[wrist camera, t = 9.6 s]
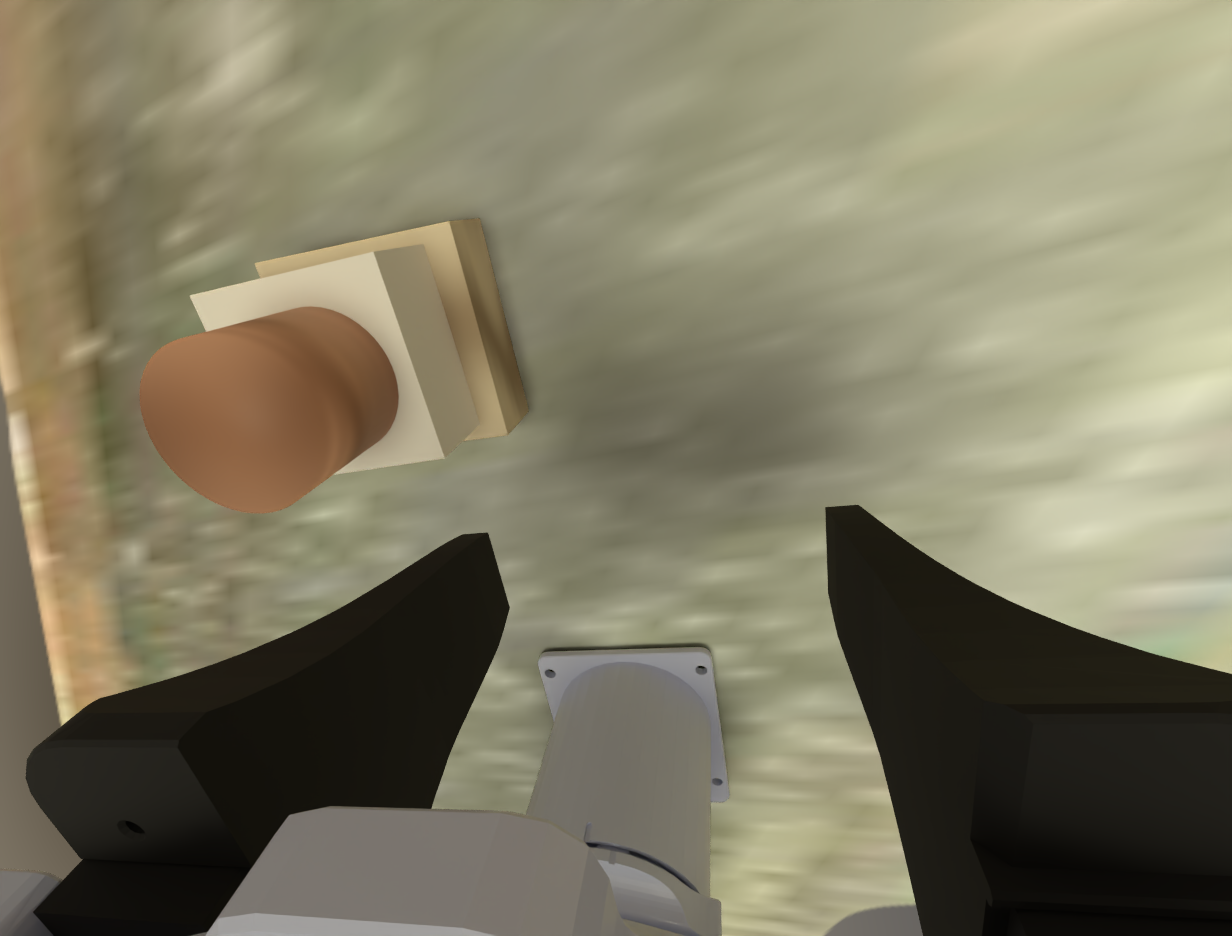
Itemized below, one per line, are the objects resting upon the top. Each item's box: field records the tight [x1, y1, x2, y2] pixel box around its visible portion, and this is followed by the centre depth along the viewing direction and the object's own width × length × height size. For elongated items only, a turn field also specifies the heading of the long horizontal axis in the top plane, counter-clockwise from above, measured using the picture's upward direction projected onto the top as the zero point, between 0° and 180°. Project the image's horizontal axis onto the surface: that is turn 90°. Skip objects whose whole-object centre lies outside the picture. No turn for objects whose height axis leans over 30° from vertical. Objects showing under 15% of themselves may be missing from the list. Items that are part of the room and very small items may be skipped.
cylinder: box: [140, 306, 399, 513], centre depth 16 cm, size 4×4×4 cm
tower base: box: [255, 218, 529, 441], centre depth 21 cm, size 7×7×3 cm
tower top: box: [190, 244, 480, 475], centre depth 19 cm, size 6×6×3 cm
